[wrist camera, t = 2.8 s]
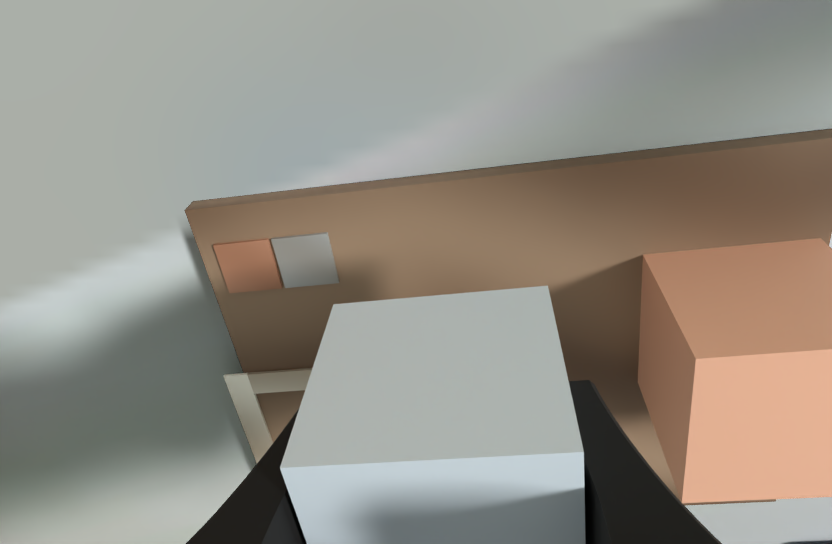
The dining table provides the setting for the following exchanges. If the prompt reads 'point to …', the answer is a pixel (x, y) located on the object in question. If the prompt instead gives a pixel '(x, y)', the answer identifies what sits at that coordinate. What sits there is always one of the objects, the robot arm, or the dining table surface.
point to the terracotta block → (740, 368)
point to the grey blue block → (439, 425)
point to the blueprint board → (498, 254)
